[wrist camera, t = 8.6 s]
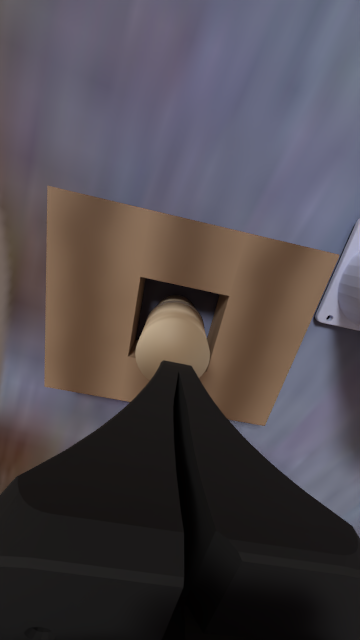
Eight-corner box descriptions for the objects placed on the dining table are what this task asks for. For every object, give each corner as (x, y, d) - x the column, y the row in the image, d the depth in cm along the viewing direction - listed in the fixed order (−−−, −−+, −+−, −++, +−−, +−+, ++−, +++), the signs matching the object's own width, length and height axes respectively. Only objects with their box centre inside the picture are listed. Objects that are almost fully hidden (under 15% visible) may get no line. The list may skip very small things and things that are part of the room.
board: (313, 252, 17) (339, 254, 14) (253, 401, 22) (264, 425, 19) (71, 195, 16) (47, 185, 13) (63, 366, 20) (44, 386, 17)
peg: (210, 313, 19) (226, 354, 12) (177, 346, 20) (175, 400, 13) (173, 280, 18) (169, 304, 11) (140, 316, 19) (118, 358, 12)
